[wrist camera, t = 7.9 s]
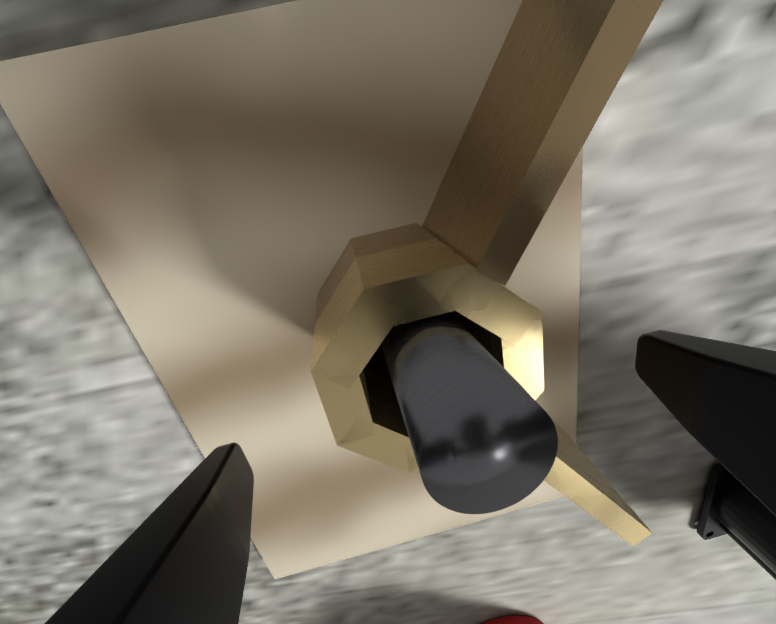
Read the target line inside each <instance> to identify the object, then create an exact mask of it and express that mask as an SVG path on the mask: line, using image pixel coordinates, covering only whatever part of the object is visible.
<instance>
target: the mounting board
mask: <svg viewBox="0 0 776 624" xmlns="http://www.w3.org/2000/svg"><path fill="white" fill-rule="evenodd" d="M521 3H522V0H295V1H291V2H286V3H281V4H276V5H271V6H266V7H261V8H257V9H252V10H247V11H242V12H237V13H232V14H227V15H223V16H218V17H213V18H208V19H203V20H198V21H193V22H189V23H184V24H179V25H174V26H169V27H164V28H159V29H155V30H150V31H145V32H140V33H135V34H130V35H125V36H121V37H116V38H111V39H106V40H101V41H96V42H91V43H87V44H82V45H77V46H72V47H67V48H62V49H57V50H53V51H48V52H43V53H38V54H33V55H28V56H23V57H19V58H14V59H9V60H4V61H0V104H1V106H2V108H3V110H4V111H5V113H6V115H7V116H8V118H9V120H10V122H11V123H12V125H13V127H14V129H15V130H16V132H17V134H18V136H19V137H20V139H21V141H22V142H23V144H24V146H25V148H26V149H27V151H28V153H29V155H30V156H31V158H32V160H33V161H34V163H35V165H36V167H37V168H38V170H39V172H40V174H41V175H42V177H43V179H44V181H45V182H46V184H47V186H48V187H49V189H50V191H51V193H52V194H53V196H54V198H55V200H56V201H57V203H58V205H59V206H60V208H61V210H62V212H63V213H64V215H65V217H66V219H67V220H68V222H69V224H70V226H71V227H72V229H73V231H74V232H75V234H76V236H77V238H78V239H79V241H80V243H81V245H82V246H83V248H84V250H85V252H86V253H87V255H88V257H89V258H90V260H91V262H92V264H93V265H94V267H95V269H96V271H97V272H98V274H99V276H100V277H101V279H102V281H103V283H104V284H105V286H106V288H107V290H108V291H109V293H110V295H111V297H112V298H113V300H114V302H115V303H116V305H117V307H118V309H119V310H120V312H121V314H122V316H123V317H124V319H125V321H126V323H127V324H128V326H129V328H130V329H131V331H132V333H133V335H134V336H135V338H136V340H137V342H138V343H139V345H140V347H141V348H142V350H143V352H144V354H145V355H146V357H147V359H148V361H149V362H150V364H151V366H152V368H153V369H154V371H155V373H156V374H157V376H158V378H159V380H160V381H161V383H162V385H163V387H164V388H165V390H166V392H167V393H168V395H169V397H170V399H171V400H172V402H173V404H174V406H175V407H176V409H177V411H178V413H179V414H180V416H181V418H182V419H183V421H184V423H185V425H186V426H187V428H188V430H189V432H190V433H191V435H192V437H193V439H194V440H195V442H196V444H197V445H198V447H199V449H200V451H201V452H202V454H203V456H204V458H206V457H207V456H208V455H209V454H210V453H211V452H212V451H213V450H214V449H215V448H217V447H219V446H222V445H226V444H230V443H234V442H235V443H238V444H239V445H240V447H241V448H242V450H243V452H244V454H245V456H246V458H247V460H248V462H249V464H250V466H251V468H252V471H253V475H254V488H253V505H252V521H251V539H252V541H253V542H254V544H255V546H256V548H257V549H258V551H259V553H260V555H261V556H262V558H263V560H264V561H265V563H266V565H267V567H268V568H269V570H270V572H271V574H272V575H273V577H274V579H278V578H281V577H285V576H288V575H292V574H295V573H299V572H302V571H306V570H309V569H313V568H316V567H320V566H323V565H327V564H330V563H334V562H337V561H341V560H344V559H348V558H351V557H355V556H358V555H362V554H365V553H369V552H372V551H376V550H379V549H383V548H386V547H390V546H393V545H397V544H400V543H404V542H407V541H411V540H414V539H418V538H421V537H425V536H428V535H432V534H435V533H439V532H442V531H446V530H449V529H453V528H456V527H460V526H463V525H467V524H470V523H474V522H477V521H481V520H484V519H488V518H491V517H495V516H498V515H502V514H505V513H509V512H512V511H516V510H519V509H523V508H526V507H530V506H533V505H537V504H540V503H544V502H547V501H551V500H554V499H558V498H561V497H564V495H563V494H561V493H560V492H559V491H557V490H556V489H555V488H553V487H552V486H551V485H549V484H548V483H546V482H545V481H543V482H542V483H541V484H540V485H539V486H538V487H537V488H536V489H535V490H534V491H533V492H532V493H531V494H530V495H528V496H527V497H525V498H524V499H523V500H521V501H519V502H518V503H516V504H514V505H512V506H510V507H508V508H505V509H502V510H499V511H496V512H492V513H486V514H464V513H458V512H455V511H452V510H449V509H447V508H445V507H443V506H441V505H440V504H439V503H437V502H436V501H435V500H434V499H433V498H432V497H431V496H430V495H429V493H428V492H427V490H426V488H425V487H424V484H423V481H422V478H421V475H420V472H419V471H417V472H414V473H408V472H405V471H402V470H400V469H397V468H394V467H392V466H389V465H387V464H384V463H381V462H379V461H376V460H373V459H371V458H368V457H365V456H363V455H360V454H358V453H355V452H352V451H350V450H347V449H344V448H342V447H339V446H337V444H336V441H335V438H334V436H333V433H332V430H331V427H330V424H329V422H328V419H327V416H326V413H325V410H324V408H323V405H322V402H321V399H320V397H319V394H318V391H317V388H316V385H315V383H314V380H313V377H312V374H311V361H312V350H313V340H314V329H315V318H316V307H317V296H318V292H319V290H320V289H321V287H322V285H323V284H324V282H325V281H326V279H327V277H328V276H329V274H330V272H331V271H332V269H333V267H334V266H335V264H336V262H337V261H338V259H339V257H340V256H341V254H342V252H343V251H344V249H345V247H346V246H347V244H348V242H349V241H350V239H351V238H355V237H359V236H363V235H367V234H371V233H376V232H380V231H384V230H388V229H392V228H396V227H400V226H405V225H409V224H413V223H417V224H419V225H420V226H422V225H423V223H424V221H425V218H426V216H427V214H428V212H429V209H430V207H431V205H432V203H433V200H434V198H435V196H436V194H437V191H438V189H439V187H440V185H441V182H442V180H443V178H444V176H445V173H446V171H447V169H448V167H449V164H450V162H451V160H452V158H453V155H454V153H455V151H456V149H457V146H458V144H459V142H460V140H461V137H462V135H463V133H464V131H465V128H466V126H467V124H468V122H469V119H470V117H471V115H472V113H473V111H474V108H475V106H476V104H477V102H478V99H479V97H480V95H481V93H482V90H483V88H484V86H485V84H486V81H487V79H488V77H489V75H490V72H491V70H492V68H493V66H494V63H495V61H496V59H497V57H498V54H499V52H500V50H501V48H502V45H503V43H504V41H505V39H506V36H507V34H508V32H509V30H510V27H511V25H512V23H513V21H514V18H515V16H516V14H517V12H518V9H519V7H520V5H521ZM582 152H583V146H582V148H581V150H580V152H579V154H578V155H577V157H576V159H575V161H574V163H573V164H572V166H571V168H570V170H569V172H568V173H567V175H566V177H565V179H564V181H563V182H562V184H561V186H560V188H559V190H558V192H557V193H556V195H555V197H554V199H553V201H552V202H551V204H550V206H549V208H548V210H547V211H546V213H545V215H544V217H543V219H542V220H541V222H540V224H539V226H538V228H537V230H536V231H535V233H534V235H533V237H532V239H531V240H530V242H529V244H528V246H527V248H526V249H525V251H524V253H523V255H522V257H521V259H520V260H519V262H518V264H517V266H516V268H515V269H514V271H513V273H512V275H511V277H510V278H509V280H508V282H507V284H506V286H508V287H509V288H510V289H512V290H513V291H514V292H516V293H517V294H518V295H520V296H521V297H523V298H524V299H525V300H527V301H528V302H529V303H531V304H532V305H533V306H535V307H536V308H538V309H539V310H540V311H542V329H543V365H544V391H543V392H542V393H541V394H540V395H539V396H538V398H537V399H536V400H535V401H536V402H537V403H538V404H539V405H540V406H541V407H542V408H543V409H544V410H545V411H546V412H547V413H548V415H549V416H550V417H551V419H552V420H553V421H554V422H555V423H556V424H557V425H558V426H560V427H561V428H562V429H563V430H564V431H565V432H566V433H567V434H568V435H569V436H570V437H571V438H572V440H573V441H574V442H575V443H576V444H577V396H578V347H579V298H580V250H581V201H582Z"/></svg>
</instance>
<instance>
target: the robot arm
mask: <svg viewBox="0 0 776 624" xmlns="http://www.w3.org/2000/svg"><path fill="white" fill-rule="evenodd" d="M635 368H636V371H637V373H638V375H639V377H640V378H641V379H642V380H643V381H644V382H645V384H646V385H647V386H648V387H649V388H650V389H651V390H652V392H653V393H654V394H655V395H656V396H657V397H658V398H659V400H660V401H661V402H662V403H663V404H664V405H665V406H666V407H667V409H668V410H669V411H670V412H671V413H672V414H673V415H674V417H675V418H676V419H677V420H678V421H679V422H680V423H681V424H682V426H683V427H684V428H685V429H686V430H687V431H688V432H689V433H690V434H691V435H692V436H693V437H694V438H695V439H696V440H697V441H698V442H699V443H700V444H701V445H702V446H703V447H704V448H705V449H706V450H707V451H708V452H709V453H710V454H712V455H713V456H714V457H715V458H716V459H717V460H718V461H719V463H717V464H716V465H714V467H713V468H712V470H711V474H710V478H709V482H708V487H707V491H706V495H705V499H704V503H703V507H702V511H701V515H700V519H699V524H698V528H697V533H698V534H699V535H700V536H701V537H702V538H703V539H705V540H707V539H711V538H714V537H718V536H721V535H725V534H728V535H729V536H730V537H731V538H732V539H733V540H734V541H736V542H737V543H738V544H739V545H740V546H741V547H742V548H743V549H744V550H745V551H746V552H747V553H748V554H749V555H750V556H751V557H752V558H753V559H754V560H756V561H757V562H758V563H759V564H760V565H761V566H762V567H763V568H764V569H765V570H766V571H767V572H768V573H769V574H770V575H771V576H772V577H773V578H774V579H776V351H772V350H767V349H761V348H756V347H750V346H745V345H739V344H734V343H728V342H723V341H717V340H712V339H706V338H701V337H695V336H690V335H684V334H678V333H673V332H667V331H661V330H659V331H654V332H650V333H646V334H643V335H641V336H640V337H639V339H638V342H637V352H636V362H635ZM253 488H254V475H253V471H252V468H251V466H250V464H249V462H248V460H247V458H246V456H245V454H244V452H243V450H242V448H241V447H240V445H239V444H238V443H235V442H234V443H230V444H226V445H222V446H219V447H217V448H215V449H214V450H213V451H212V452H211V453H210V454H209V455H208V456H207V457H206V458H205V459H204V460H203V461H202V462H201V463H200V464H199V465H198V466H197V467H196V469H195V470H194V471H193V472H192V473H191V474H190V475H189V476H188V477H187V478H186V479H185V480H184V481H183V482H182V483H181V484H180V485H179V486H178V487H177V488H176V489H175V490H174V491H173V492H172V493H171V494H170V495H169V496H168V497H167V498H166V499H165V500H164V501H163V502H162V503H161V505H160V506H159V507H158V508H157V509H156V510H155V511H154V512H153V513H152V514H151V515H150V516H149V517H148V518H147V519H146V520H145V521H144V522H143V523H142V524H141V525H140V526H139V527H138V528H137V529H136V530H135V531H134V532H133V533H132V534H131V535H130V536H129V537H128V538H127V539H126V540H125V541H124V543H123V544H122V545H121V546H120V547H119V548H118V549H117V550H116V551H115V552H114V553H113V554H112V555H111V556H110V557H109V558H108V559H107V560H106V561H105V562H104V563H103V564H102V565H101V566H100V567H99V568H98V569H97V570H96V571H95V572H94V573H93V574H92V575H91V576H90V577H89V578H88V580H87V581H86V582H85V583H84V584H83V585H82V586H81V587H80V588H79V589H78V590H77V591H76V592H75V593H74V594H73V595H72V596H71V597H70V598H69V599H68V600H67V601H66V602H65V603H64V604H63V605H62V606H61V607H60V608H59V609H58V610H57V611H56V612H55V613H54V614H53V615H52V616H51V618H50V619H49V620H48V621H47V622H46V623H45V624H238V622H239V615H240V609H241V603H242V597H243V591H244V585H245V579H246V573H247V567H248V560H249V551H250V538H251V521H252V505H253Z"/></svg>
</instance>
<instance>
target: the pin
mask: <svg viewBox="0 0 776 624" xmlns="http://www.w3.org/2000/svg"><path fill="white" fill-rule="evenodd" d="M381 347H382V351H383V354H384V357H385V360H386V364H387V367H388V370H389V374H390V377H391V380H392V383H393V387H394V390H395V393H396V396H397V400H398V403H399V406H400V409H401V413H402V416H403V419H404V423H405V426H406V429H407V432H408V436H409V439H410V442H411V445H412V449H413V452H414V455H415V458H416V462H417V465H418V468H419V472H420V475H421V478H422V481H423V484H424V487H425V488H426V490H427V492H428V493H429V495H430V496H431V497H432V498H433V499H434V500H435V501H436V502H437V503H439V504H440V505H441V506H443V507H445V508H447V509H449V510H452V511H455V512H458V513H464V514H486V513H492V512H496V511H499V510H502V509H505V508H508V507H510V506H512V505H514V504H516V503H518V502H519V501H521V500H523V499H524V498H525V497H527V496H528V495H530V494H531V493H532V492H533V491H534V490H535V489H536V488H537V487H538V486H539V485H540V484H541V483H542V482H543V481H544V479H545V478H546V477H547V475H548V473H549V472H550V470H551V468H552V466H553V464H554V461H555V458H556V455H557V449H558V436H557V431H556V427H555V425H554V423H553V421H552V419H551V417H550V416H549V415H548V413H547V412H546V411H545V410H544V409H543V408H542V407H541V406H540V405H539V404H538V403H537V402H536V401H535V400H534V399H533V398H532V397H531V396H530V395H529V393H528V392H527V391H526V390H525V389H524V388H523V387H522V386H521V385H520V384H519V383H518V382H517V381H516V380H515V379H514V378H513V377H512V376H511V375H510V374H509V373H508V372H507V371H506V370H505V368H504V367H503V366H502V365H501V364H500V363H499V362H498V361H497V360H496V359H495V358H494V357H493V356H492V355H491V354H490V353H489V352H488V351H487V350H486V349H485V348H484V347H483V346H482V345H481V343H480V342H479V341H478V340H477V339H476V338H475V337H474V336H473V335H472V334H471V333H470V332H469V331H468V330H467V329H466V328H465V327H464V326H463V325H462V324H461V323H460V322H459V321H458V320H457V318H456V317H455V316H454V315H453V314H452V313H451V312H448V313H444V314H440V315H436V316H432V317H428V318H424V319H420V320H416V321H412V322H408V323H405V324H401V325H397V326H393V327H392V328H391V330H390V331H389V333H388V334H387V336H386V337H385V338H384V340H383V341H382V343H381Z"/></svg>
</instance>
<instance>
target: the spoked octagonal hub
mask: <svg viewBox="0 0 776 624" xmlns="http://www.w3.org/2000/svg"><path fill="white" fill-rule="evenodd" d="M662 1H663V0H522V3H521V5H520V7H519V9H518V12H517V14H516V16H515V18H514V21H513V23H512V25H511V27H510V30H509V32H508V34H507V36H506V39H505V41H504V43H503V45H502V48H501V50H500V52H499V54H498V57H497V59H496V61H495V63H494V66H493V68H492V70H491V72H490V75H489V77H488V79H487V81H486V84H485V86H484V88H483V90H482V93H481V95H480V97H479V99H478V102H477V104H476V106H475V108H474V111H473V113H472V115H471V117H470V119H469V122H468V124H467V126H466V128H465V131H464V133H463V135H462V137H461V140H460V142H459V144H458V146H457V149H456V151H455V153H454V155H453V158H452V160H451V162H450V164H449V167H448V169H447V171H446V173H445V176H444V178H443V180H442V182H441V185H440V187H439V189H438V191H437V194H436V196H435V198H434V200H433V203H432V205H431V207H430V209H429V212H428V214H427V216H426V218H425V221H424V223H423V225H422V226H420V225H419V224H417V223H413V224H409V225H405V226H400V227H396V228H392V229H388V230H384V231H380V232H376V233H371V234H367V235H363V236H359V237H355V238H351V239H350V241H349V242H348V244H347V246H346V247H345V249H344V251H343V252H342V254H341V256H340V257H339V259H338V261H337V262H336V264H335V266H334V267H333V269H332V271H331V272H330V274H329V276H328V277H327V279H326V281H325V282H324V284H323V285H322V287H321V289H320V290H319V292H318V296H317V307H316V318H315V329H314V340H313V350H312V361H311V374H312V377H313V380H314V383H315V385H316V388H317V391H318V394H319V397H320V399H321V402H322V405H323V408H324V410H325V413H326V416H327V419H328V422H329V424H330V427H331V430H332V433H333V436H334V438H335V441H336V444H337V446H339V447H342V448H344V449H347V450H350V451H352V452H355V453H358V454H360V455H363V456H365V457H368V458H371V459H373V460H376V461H379V462H381V463H384V464H387V465H389V466H392V467H394V468H397V469H400V470H402V471H405V472H408V473H414V472H417V471H419V468H418V465H417V462H416V458H415V455H414V452H413V449H412V445H411V442H410V439H409V436H408V432H407V429H406V426H405V423H404V419H403V416H402V413H401V409H400V406H399V403H398V400H397V396H396V393H395V390H394V387H393V383H392V380H391V377H390V374H389V370H388V367H387V364H386V360H385V357H384V354H383V351H382V347H381V343H382V341H383V340H384V338H385V337H386V336H387V334H388V333H389V331H390V330H391V328H392V327H393V326H397V325H401V324H405V323H408V322H412V321H416V320H420V319H424V318H428V317H432V316H436V315H440V314H444V313H448V312H451V313H452V314H453V315H454V316H455V317H456V318H457V320H458V321H459V322H460V323H461V324H462V325H463V326H464V327H465V328H466V329H467V330H468V331H469V332H470V333H471V334H472V335H473V336H474V337H475V338H476V339H477V340H478V341H479V342H480V343H481V345H482V346H483V347H484V348H485V349H486V350H487V351H488V352H489V353H490V354H491V355H492V356H493V357H494V358H495V359H496V360H497V361H498V362H499V363H500V364H501V365H502V366H503V367H504V368H505V370H506V371H507V372H508V373H509V374H510V375H511V376H512V377H513V378H514V379H515V380H516V381H517V382H518V383H519V384H520V385H521V386H522V387H523V388H524V389H525V390H526V391H527V392H528V393H529V395H530V396H531V397H532V398H533V399H534V400H536V399H537V398H538V396H539V395H540V394H541V393H542V392H543V391H544V365H543V329H542V311H540V310H539V309H538V308H536V307H535V306H533V305H532V304H531V303H529V302H528V301H527V300H525V299H524V298H523V297H521V296H520V295H518V294H517V293H516V292H514V291H513V290H512V289H510V288H509V287H508V286H506V284H507V282H508V280H509V278H510V277H511V275H512V273H513V271H514V269H515V268H516V266H517V264H518V262H519V260H520V259H521V257H522V255H523V253H524V251H525V249H526V248H527V246H528V244H529V242H530V240H531V239H532V237H533V235H534V233H535V231H536V230H537V228H538V226H539V224H540V222H541V220H542V219H543V217H544V215H545V213H546V211H547V210H548V208H549V206H550V204H551V202H552V201H553V199H554V197H555V195H556V193H557V192H558V190H559V188H560V186H561V184H562V182H563V181H564V179H565V177H566V175H567V173H568V172H569V170H570V168H571V166H572V164H573V163H574V161H575V159H576V157H577V155H578V154H579V152H580V150H581V148H582V146H583V144H584V143H585V141H586V139H587V137H588V135H589V134H590V132H591V130H592V128H593V126H594V125H595V123H596V121H597V119H598V117H599V116H600V114H601V112H602V110H603V108H604V106H605V105H606V103H607V101H608V99H609V97H610V96H611V94H612V92H613V90H614V88H615V87H616V85H617V83H618V81H619V79H620V77H621V76H622V74H623V72H624V70H625V68H626V67H627V65H628V63H629V61H630V59H631V58H632V56H633V54H634V52H635V50H636V49H637V47H638V45H639V43H640V41H641V39H642V38H643V36H644V34H645V32H646V30H647V29H648V27H649V25H650V23H651V21H652V20H653V18H654V16H655V14H656V12H657V11H658V9H659V7H660V5H661V3H662ZM552 421H553V420H552ZM553 423H554V425H555V427H556V431H557V436H558V449H557V455H556V458H555V461H554V464H553V466H552V468H551V470H550V472H549V473H548V475H547V477H546V478H545V479H544V481H545V482H546V483H548V484H549V485H551V486H552V487H553V488H555V489H556V490H557V491H559V492H560V493H561V494H563V495H564V496H566V497H567V498H568V499H570V500H571V501H572V502H574V503H575V504H576V505H578V506H579V507H580V508H582V509H583V510H585V511H586V512H587V513H589V514H590V515H591V516H593V517H594V518H595V519H597V520H598V521H600V522H601V523H602V524H604V525H605V526H606V527H608V528H609V529H610V530H612V531H613V532H615V533H616V534H617V535H619V536H620V537H621V538H623V539H624V540H625V541H627V542H628V543H629V544H631V545H632V546H635V545H637V544H638V543H639V542H641V541H642V540H644V539H645V538H646V537H648V536H649V535H651V534H652V532H651V531H650V530H649V529H648V527H647V526H646V525H645V524H644V523H643V521H642V520H641V519H640V518H639V517H638V516H637V514H636V513H635V512H634V511H633V510H632V509H631V507H630V506H629V505H628V504H627V503H626V502H625V500H624V499H623V498H622V497H621V496H620V495H619V493H618V492H617V491H616V490H615V489H614V488H613V486H612V485H611V484H610V483H609V482H608V481H607V479H606V478H605V477H604V476H603V475H602V474H601V472H600V471H599V470H598V469H597V468H596V467H595V465H594V464H593V463H592V462H591V461H590V459H589V458H588V457H587V456H586V455H585V454H584V452H583V451H582V450H581V449H580V448H579V447H578V445H577V444H576V443H575V442H574V441H573V440H572V438H571V437H570V436H569V435H568V434H567V433H566V432H565V431H564V430H563V429H562V428H561V427H560V426H558V425H557V424H556V423H555V422H554V421H553Z"/></svg>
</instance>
